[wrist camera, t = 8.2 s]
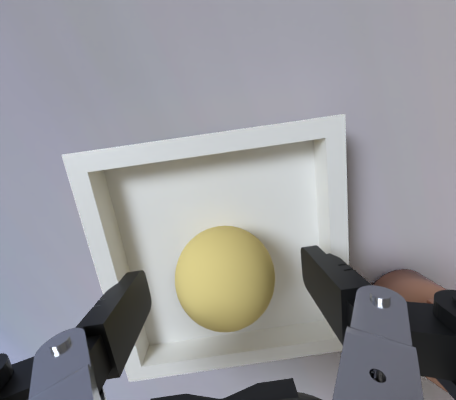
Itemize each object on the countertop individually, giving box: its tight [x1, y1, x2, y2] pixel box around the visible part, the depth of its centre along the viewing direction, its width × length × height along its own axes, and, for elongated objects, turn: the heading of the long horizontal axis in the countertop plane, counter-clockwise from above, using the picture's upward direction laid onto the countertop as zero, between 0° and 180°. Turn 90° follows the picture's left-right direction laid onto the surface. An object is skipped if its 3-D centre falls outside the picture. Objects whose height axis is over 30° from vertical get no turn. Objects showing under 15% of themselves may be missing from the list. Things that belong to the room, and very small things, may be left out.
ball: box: [175, 226, 275, 332], centre depth 11 cm, size 5×5×5 cm
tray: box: [62, 114, 349, 382], centre depth 13 cm, size 14×14×2 cm
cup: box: [374, 269, 448, 392], centre depth 13 cm, size 5×5×5 cm
